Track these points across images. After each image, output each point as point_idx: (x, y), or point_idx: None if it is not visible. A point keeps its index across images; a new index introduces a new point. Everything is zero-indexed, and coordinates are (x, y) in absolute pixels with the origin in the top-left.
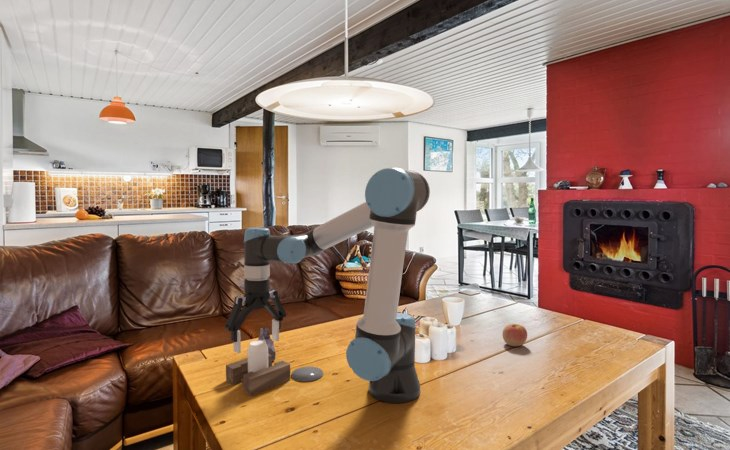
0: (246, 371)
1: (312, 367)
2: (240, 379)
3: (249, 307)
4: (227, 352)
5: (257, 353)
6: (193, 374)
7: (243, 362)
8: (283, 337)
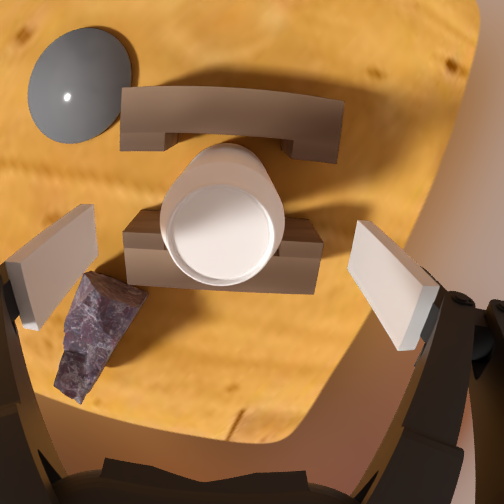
0: None
1: (36, 113)
2: None
3: (448, 490)
4: (180, 405)
5: (262, 174)
6: (327, 359)
7: None
8: None
